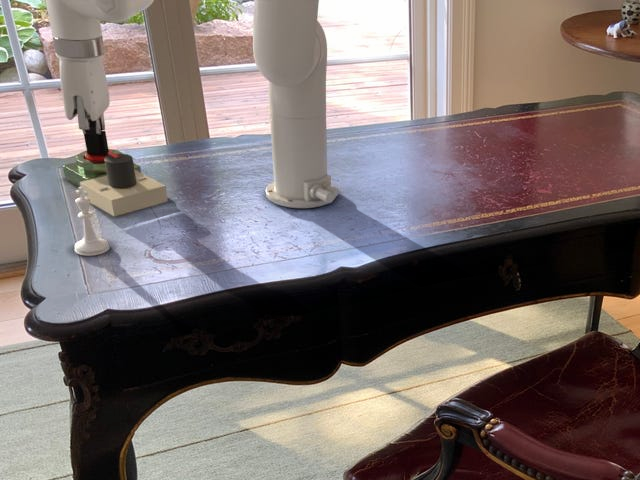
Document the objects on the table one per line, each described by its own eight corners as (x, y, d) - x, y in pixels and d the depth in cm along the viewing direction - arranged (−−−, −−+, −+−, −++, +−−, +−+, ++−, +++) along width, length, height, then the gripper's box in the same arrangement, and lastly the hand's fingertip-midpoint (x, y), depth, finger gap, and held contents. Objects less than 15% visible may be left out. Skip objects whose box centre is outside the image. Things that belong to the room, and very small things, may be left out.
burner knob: (141, 184, 140) (137, 157, 137) (116, 190, 137) (111, 163, 134) (128, 176, 142) (124, 150, 140) (104, 182, 139) (99, 155, 137)
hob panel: (167, 201, 142) (165, 184, 141) (114, 217, 136) (111, 199, 134) (135, 184, 147) (133, 167, 145) (82, 198, 140) (79, 181, 139)
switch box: (117, 167, 153) (113, 143, 151) (142, 180, 149) (139, 156, 147) (65, 179, 147) (60, 155, 144) (90, 193, 142) (85, 169, 140)
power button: (106, 156, 149) (105, 147, 148) (121, 164, 147) (119, 155, 146) (81, 162, 146) (79, 153, 145) (95, 170, 143) (94, 160, 142)
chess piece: (97, 258, 123) (85, 196, 118) (67, 252, 124) (54, 190, 118) (116, 244, 127) (105, 184, 122) (87, 239, 128) (75, 179, 123)
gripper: (70, 34, 141) (88, 138, 151) (39, 56, 128) (62, 168, 138) (115, 37, 142) (131, 141, 152) (89, 59, 129) (108, 170, 139)
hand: (98, 153), depth 145 cm, fingers closed
